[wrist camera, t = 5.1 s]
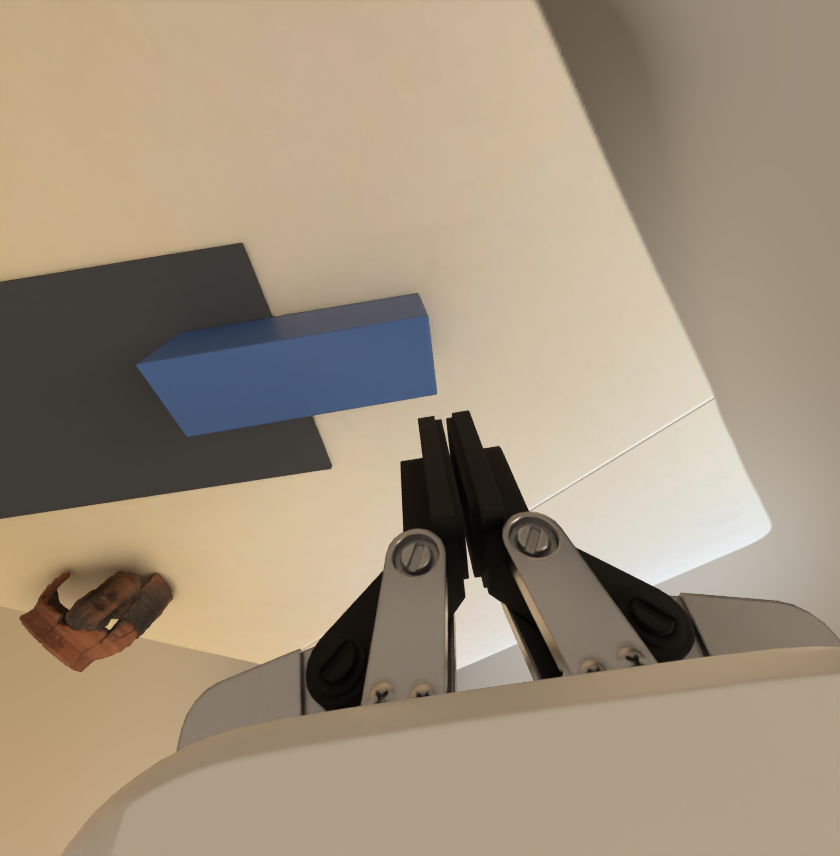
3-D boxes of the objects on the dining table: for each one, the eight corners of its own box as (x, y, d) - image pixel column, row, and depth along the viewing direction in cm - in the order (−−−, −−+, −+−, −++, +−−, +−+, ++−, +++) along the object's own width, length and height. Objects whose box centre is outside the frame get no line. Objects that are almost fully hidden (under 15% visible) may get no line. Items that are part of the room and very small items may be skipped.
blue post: (418, 292, 19) (180, 332, 19) (428, 315, 15) (134, 364, 15) (427, 361, 22) (218, 397, 21) (437, 394, 18) (186, 437, 18)
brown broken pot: (177, 608, 38) (92, 684, 32) (117, 552, 38) (19, 618, 31) (185, 587, 30) (75, 682, 24) (111, 517, 30) (-21, 594, 24)
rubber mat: (-307, 331, 17) (-321, 334, 17) (242, 242, 17) (239, 243, 17) (-25, 519, 27) (-30, 523, 26) (332, 465, 26) (331, 468, 26)
